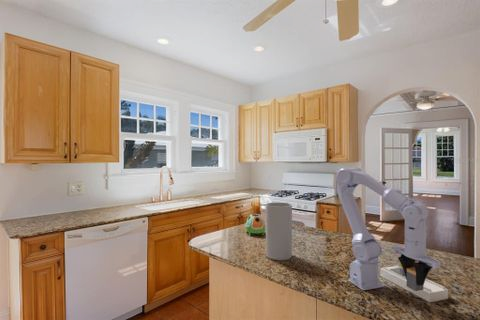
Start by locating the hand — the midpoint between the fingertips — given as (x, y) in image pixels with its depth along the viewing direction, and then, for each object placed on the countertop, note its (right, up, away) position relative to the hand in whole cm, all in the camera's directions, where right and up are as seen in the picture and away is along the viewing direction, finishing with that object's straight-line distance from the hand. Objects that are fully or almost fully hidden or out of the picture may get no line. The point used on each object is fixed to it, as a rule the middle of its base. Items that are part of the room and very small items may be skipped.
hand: (414, 282), depth 83 cm
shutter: (+5, -4, +15) cm, 16 cm away
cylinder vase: (-38, -7, +41) cm, 56 cm away
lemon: (+12, -7, +22) cm, 26 cm away
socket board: (+6, -7, +11) cm, 14 cm away
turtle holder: (-47, -7, +81) cm, 94 cm away
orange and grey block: (0, -2, 0) cm, 2 cm away
